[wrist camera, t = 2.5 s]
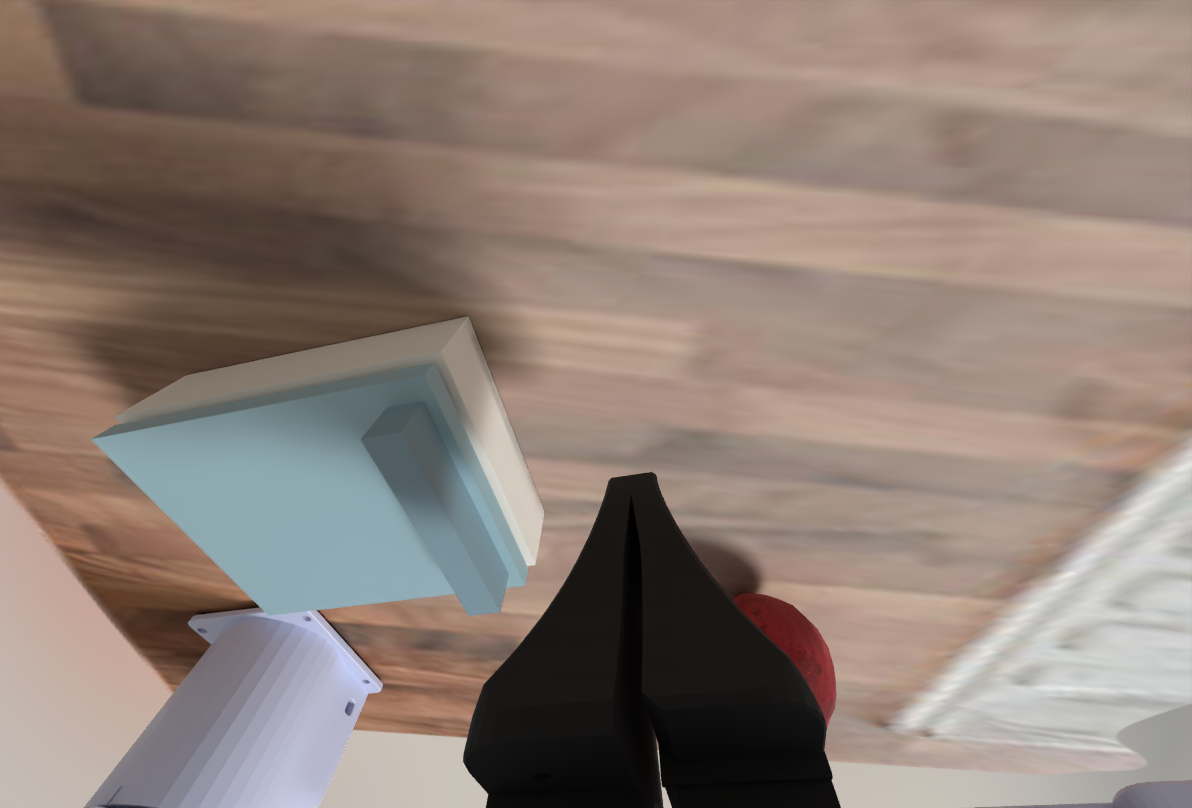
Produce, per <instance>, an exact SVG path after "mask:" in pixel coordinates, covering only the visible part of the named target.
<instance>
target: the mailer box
mask: <svg viewBox="0 0 1192 808" xmlns="http://www.w3.org/2000/svg"><path fill="white" fill-rule="evenodd" d="M430 363H435V365H436V367H437V369H438V372H439V374H440V376H441V378H442V380H443V383H444V385H445V387H446V389H447V391H448V394H449V396H450V398H451V400H452V402H453V405H454V407H455V409H456V411H457V413H458V416H459V418H460V420H461V422H462V424H463V427H464V429H465V431H466V433H467V435H468V438H469V440H470V442H471V444H472V446H473V448H474V451H475V453H476V455H477V457H478V459H479V462H480V464H481V466H482V468H483V470H484V473H485V475H486V477H487V479H488V481H489V484H490V486H491V488H492V490H493V492H494V495H495V497H496V499H497V501H498V503H499V506H500V508H501V510H502V512H503V514H504V516H505V519H506V521H507V523H508V525H509V527H510V530H511V532H512V534H513V536H514V538H515V541H516V543H517V545H518V547H519V549H520V552H521V554H522V556H523V558H524V560H525V563H526V565H527V566H532V565H535V564H536V558H537V553H538V547H539V541H540V536H541V530H542V524H543V518H544V513H545V512H544V510H543V507H542V505H541V502H540V499H539V497H538V494H537V492H536V489H535V486H534V484H533V481H532V479H531V476H530V474H529V471H528V468H527V466H526V463H525V461H524V458H523V456H522V453H521V450H520V448H519V445H518V443H517V440H516V437H515V435H514V432H513V430H512V427H511V425H510V422H509V419H508V417H507V414H506V412H505V409H504V406H503V404H502V401H501V399H500V396H499V394H498V391H497V388H496V386H495V383H494V381H493V378H492V375H491V373H490V370H489V368H488V365H487V363H486V360H485V357H484V355H483V352H482V350H481V347H480V345H479V342H478V339H477V337H476V334H475V332H474V329H473V326H472V324H471V321H470V319H469V316H467V317H462V318H457V319H452V320H447V321H443V322H438V323H433V324H428V325H424V326H419V327H414V328H409V329H404V330H400V331H395V332H390V333H385V334H381V335H376V336H371V337H366V338H361V339H357V340H352V341H347V342H342V343H338V344H333V345H328V346H323V347H318V348H314V349H309V350H304V351H299V352H295V353H290V354H285V355H280V356H275V357H271V358H266V359H261V360H256V361H252V362H247V363H242V364H237V365H233V366H228V367H223V368H218V369H213V370H209V371H204V372H199V373H194V374H190V375H186V376H184V377H182V378H181V379H179V380H177V381H175V382H174V383H172V384H170V385H168V386H167V387H165V388H163V389H161V390H160V391H158V392H156V393H154V394H153V395H151V396H149V397H147V398H146V399H144V400H142V401H140V402H138V403H137V404H135V405H133V406H131V407H130V408H128V409H126V410H124V411H123V412H121V413H119V414H117V415H116V416H114V417H115V418H116V419H117V420H118V421H119V422H120V423H121V424H124V423H129V422H134V421H139V420H144V419H149V418H154V417H159V416H165V415H170V414H175V413H180V412H185V411H190V410H195V409H200V408H205V407H210V406H215V405H221V404H226V403H231V402H236V401H241V400H246V399H251V398H256V397H261V396H266V395H272V394H277V393H282V392H287V391H292V390H297V389H302V388H307V387H312V386H317V385H323V384H328V383H333V382H338V381H343V380H348V379H353V378H358V377H363V376H368V375H374V374H379V373H384V372H389V371H394V370H399V369H404V368H409V367H414V366H419V365H425V364H430Z"/></svg>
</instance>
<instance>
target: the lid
mask: <svg viewBox="0 0 1192 808" xmlns="http://www.w3.org/2000/svg"><path fill="white" fill-rule="evenodd" d="M91 440H92V441H93V442H94V443H95V444H96V445H97V446H98V447H99V448H100V449H101V450H102V451H103V452H104V453H105V454H106V455H107V456H108V457H109V458H110V459H111V460H112V461H113V462H114V463H115V464H116V465H117V466H118V467H119V468H120V469H121V470H122V471H123V472H124V473H125V474H126V475H127V476H128V477H129V478H130V479H131V480H132V481H133V482H134V483H135V484H136V485H137V486H138V487H139V488H140V489H142V490H143V491H144V492H145V493H146V494H147V495H148V496H149V497H150V498H151V499H152V500H153V501H154V502H155V503H156V504H157V505H158V506H159V507H160V508H161V509H162V510H163V511H164V512H165V513H166V514H167V515H168V516H169V517H170V518H171V519H172V520H173V521H174V522H175V523H176V524H177V525H178V526H179V527H180V528H181V529H182V530H183V531H184V532H185V533H186V534H187V535H188V536H189V537H190V538H191V539H192V540H193V541H194V542H195V543H196V544H197V545H198V546H199V547H200V548H201V549H202V550H203V551H204V552H205V553H206V554H207V555H208V556H209V557H210V558H211V559H212V560H213V561H214V562H215V563H216V564H217V565H218V566H219V567H220V568H221V569H222V570H223V571H224V572H225V573H226V574H227V575H228V576H229V577H230V578H231V579H232V580H233V581H234V582H235V583H236V584H237V585H238V586H239V587H240V588H241V589H242V590H243V591H244V592H245V593H246V594H247V595H248V596H249V597H250V598H251V599H252V600H253V601H254V602H255V603H256V604H257V605H258V606H259V607H260V608H261V609H262V610H263V611H264V612H265V613H266V614H267V615H268V616H271V615H280V614H288V613H297V612H305V611H314V610H322V609H331V608H339V607H348V606H356V605H365V604H373V603H382V602H390V601H399V600H407V599H416V598H424V597H433V596H441V595H450V594H456V596H457V598H458V599H459V601H460V602H461V604H462V606H463V607H464V609H465V611H466V612H467V614H468V615H469V616H471V615H480V614H489V613H498V612H500V611H501V607H502V602H503V598H504V594H505V589H506V588H509V587H518V586H525V583H526V578H527V573H528V567H527V565H526V563H525V560H524V558H523V556H522V554H521V552H520V549H519V547H518V545H517V543H516V541H515V538H514V536H513V534H512V532H511V530H510V527H509V525H508V523H507V521H506V519H505V516H504V514H503V512H502V510H501V508H500V506H499V503H498V501H497V499H496V497H495V495H494V492H493V490H492V488H491V486H490V484H489V481H488V479H487V477H486V475H485V473H484V470H483V468H482V466H481V464H480V462H479V459H478V457H477V455H476V453H475V451H474V448H473V446H472V444H471V442H470V440H469V438H468V435H467V433H466V431H465V429H464V427H463V424H462V422H461V420H460V418H459V416H458V413H457V411H456V409H455V407H454V405H453V402H452V400H451V398H450V396H449V394H448V391H447V389H446V387H445V385H444V383H443V380H442V378H441V376H440V374H439V372H438V369H437V367H436V365H435V363H430V364H425V365H419V366H414V367H409V368H404V369H399V370H394V371H389V372H384V373H379V374H374V375H368V376H363V377H358V378H353V379H348V380H343V381H338V382H333V383H328V384H323V385H317V386H312V387H307V388H302V389H297V390H292V391H287V392H282V393H277V394H272V395H266V396H261V397H256V398H251V399H246V400H241V401H236V402H231V403H226V404H221V405H215V406H210V407H205V408H200V409H195V410H190V411H185V412H180V413H175V414H170V415H165V416H159V417H154V418H149V419H144V420H139V421H134V422H129V423H124V424H119V425H114V426H113V427H111V428H109V429H108V430H106V431H104V432H103V433H101V434H99V435H97V436H96V437H94V438H92V439H91Z"/></svg>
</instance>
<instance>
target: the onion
mask: <svg viewBox="0 0 1192 808" xmlns="http://www.w3.org/2000/svg"><path fill="white" fill-rule="evenodd" d="M732 600H733V601H734V602H735V603H736V604H737V605H738V607H739V608H740V609H741V610H742V611H743V612H744V613H745V614H746V615H747V616H748V617H749V618H750V619H751V620H752V621H753V622H754V623H755V624H756V625H757V626H758V627H759V628H760V630H761V631H763V632H764V633H765V634H766V635H767V636H768V637H769V638H770V639H771V640H772V641H773V642H774V643H775V644H776V645H777V646H778V647H780V648H781V649H782V650H783V651H784V652H785V653H786V654H787V655H788V656H789V657H790V658H791V659H792V661H793V662H794V664H795V665H796V667H797V668H798V670H799V671H800V673H801V674H802V676H803V677H804V679H805V681H806V682H807V684H808V685H809V687H810V689H811V690H812V692H813V694H814V696H815V698H816V700H817V702H818V704H819V706H820V708H821V710H822V712H823V714H824V717H825V721H826V726H828V723H829V720H830V718H831V715H832V713H833V711H834V709H835V702H836V681H835V672H834V666H833V663H832V659H831V656H830V652H829V649H828V646H827V645H826V643H825V641H824V640H823V638H822V636H821V634H820V633H819V631H818V629H817V628H816V627H815V626H814V625H813V624H812V623H811V622H810V621H809V620H808V619H807V618H806V617H805V616H804V615H803V614H801V613H800V612H799V611H798V610H797V609H796V608H795V607H794V606H793V605H791V604H789V603H786V602H784V601H782V600H779V599H776V598H773V597H770V596H767V595H762V594H753V593H748V592H746V593H740V594H737V595H736V596H735V597H734V598H733V599H732Z"/></svg>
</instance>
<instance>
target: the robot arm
mask: <svg viewBox="0 0 1192 808" xmlns="http://www.w3.org/2000/svg"><path fill="white" fill-rule="evenodd" d="M188 625H189V626H190V627H191V628H192V629H193V630H194V631H196V632H197V633H198V634H199V635H200V636H202V637H203V638H204V639H205V640H206V641H208V642H209V643H210V644H211V646H210V647H209V648H208V650H207V651H206V652H205V653H204V655H203V656H202V657H201V658H200V660H199V661H198V662H197V664H196V665H195V666H194V667H193V669H192V670H191V671H190V673H189V674H188V675H187V676H186V678H185V679H184V680H183V682H182V683H181V684H180V685H179V687H178V688H177V689H176V690H175V692H174V693H173V694H172V696H171V697H170V698H169V699H168V701H167V702H166V703H165V705H164V706H163V707H162V709H161V710H160V711H159V712H158V714H157V715H156V716H155V718H154V719H153V720H152V721H151V723H150V724H149V725H148V726H147V728H146V729H145V730H144V732H143V733H142V734H141V735H140V737H139V738H138V739H137V740H136V742H135V743H134V744H133V746H132V747H131V748H130V749H129V751H128V752H127V753H126V754H125V756H124V757H123V758H122V760H121V761H120V762H119V764H118V765H117V766H116V767H115V769H114V770H113V771H112V773H111V774H110V775H109V776H108V778H107V779H106V780H105V781H104V783H103V784H102V785H101V786H100V788H99V789H98V790H97V792H96V793H95V794H94V795H93V797H92V798H91V800H90V801H89V802H88V803H87V804H86V806H85V807H84V808H318V806H319V805H320V803H321V801H322V798H323V797H324V794H325V793H326V790H327V788H328V785H329V783H330V781H331V778H332V776H333V774H334V772H335V769H336V767H337V765H338V763H339V760H340V758H341V756H342V753H343V751H344V748H345V746H346V744H347V741H348V739H349V737H350V735H351V732H352V730H353V728H354V726H355V723H356V721H357V719H358V716H359V714H360V712H361V709H362V707H363V705H364V702H365V700H366V698H367V695H368V693H378V692H380V691H381V689H382V686H383V684H382V682H381V681H380V680H379V679H378V678H377V677H376V675H375V674H374V673H373V672H372V671H371V670H370V669H369V668H368V667H367V665H366V664H365V663H364V662H363V661H362V660H361V659H360V658H359V657H358V656H357V654H356V653H355V652H354V651H353V650H352V649H351V648H350V647H349V646H348V644H347V643H346V642H345V641H344V640H343V639H342V638H341V637H340V636H339V634H338V633H337V632H336V631H335V630H334V629H333V628H332V627H331V626H330V625H329V623H328V622H327V621H326V620H325V619H324V618H323V617H322V616H321V615H320V613H319V612H318V611H317V610H314V611H305V612H297V613H288V614H280V615H271V616H268V615H267V614H266V613H265V612H264V611H263V610H262V609H261V608H260V607H259V608H251V609H243V610H234V611H226V612H218V613H210V614H201V615H195V616H193V617H192V618H191V619H190V620H189V621H188ZM826 730H827V726H826V721H825V717H824V714H823V712H822V710H821V708H820V706H819V704H818V702H817V700H816V698H815V696H814V694H813V692H812V690H811V689H810V687H809V685H808V684H807V682H806V681H805V679H804V677H803V676H802V674H801V673H800V671H799V670H798V668H797V667H796V665H795V664H794V662H793V661H792V659H791V658H790V657H789V656H788V655H787V654H786V653H785V652H784V651H783V650H782V649H781V648H780V647H778V646H777V645H776V644H775V643H774V642H773V641H772V640H771V639H770V638H769V637H768V636H767V635H766V634H765V633H764V632H763V631H761V630H760V628H759V627H758V626H757V625H756V624H755V623H754V622H753V621H752V620H751V619H750V618H749V617H748V616H747V615H746V614H745V613H744V612H743V611H742V610H741V609H740V608H739V607H738V605H737V604H736V603H735V602H734V601H733V600H732V599H731V598H730V597H729V595H728V594H727V593H726V592H725V591H724V590H723V589H722V588H721V586H720V585H719V584H718V583H717V581H716V580H715V579H714V578H713V577H712V575H711V574H710V573H709V571H708V570H707V569H706V567H705V566H704V565H703V564H702V562H701V561H700V559H699V558H698V557H697V555H696V554H695V552H694V551H693V549H692V548H691V546H690V545H689V543H688V542H687V540H686V539H685V537H684V536H683V534H682V532H681V531H680V529H679V527H678V526H677V524H676V522H675V520H674V518H673V517H672V515H671V513H670V511H669V509H668V507H667V505H666V503H665V501H664V498H663V496H662V494H661V491H660V488H659V485H658V482H657V477H656V474H654V473H653V472H649V473H642V474H635V475H628V476H622V477H615V478H611V479H610V480H609V481H608V486H607V489H606V493H605V496H604V499H603V502H602V505H601V508H600V511H599V513H598V516H597V518H596V521H595V523H594V525H593V528H592V530H591V533H590V535H589V537H588V539H587V541H586V543H585V545H584V548H583V550H582V552H581V554H580V556H579V558H578V560H577V562H576V563H575V565H574V567H573V569H572V571H571V572H570V574H569V576H568V578H567V579H566V581H565V583H564V584H563V586H562V588H561V589H560V591H559V592H558V594H557V595H556V597H555V598H554V600H553V601H552V603H551V604H550V606H549V607H548V609H547V610H546V611H545V613H544V614H543V616H542V617H541V618H540V620H539V621H538V622H537V624H536V625H535V626H534V627H533V629H532V630H531V631H530V632H529V634H528V635H527V636H526V637H525V639H524V640H523V641H522V643H521V644H520V645H519V646H518V647H517V649H516V650H515V651H514V652H513V653H512V654H511V655H510V657H509V658H508V659H507V660H506V661H505V662H504V663H503V664H502V665H501V666H500V667H499V669H498V670H497V671H496V672H495V673H494V674H493V675H492V676H491V677H490V678H489V679H488V680H487V682H486V683H485V684H484V685H483V688H482V691H481V694H480V696H479V699H478V702H477V705H476V708H475V711H474V714H473V717H472V721H471V725H470V729H469V733H468V738H467V742H466V746H465V750H464V757H463V762H464V764H465V766H466V768H467V769H468V771H469V773H470V774H471V775H472V776H473V777H474V778H475V780H476V781H477V782H478V783H479V784H480V785H481V786H482V787H483V788H484V790H485V791H486V792H487V793H488V799H487V805H486V808H663V799H662V791H661V781H662V786H663V787H665V788H666V791H667V794H668V797H669V800H670V803H671V806H672V808H841V807H840V804H839V801H838V798H837V795H836V792H835V789H834V786H833V783H832V778H833V777H832V772H831V769H830V766H829V763H828V760H827V757H826V754H825V751H824V747H825V739H826ZM656 738H657V741H658V744H659V756H660V768H661V781H660V772H659V763H658V754H657V744H656ZM977 808H1192V780H1187V781H1164V782H1163V781H1162V782H1145V783H1138V784H1134V785H1130V786H1127V787H1125V788H1123V789H1121V790H1120V791H1118V792H1117V793H1116V795H1115V796H1114V798H1113V801H1112V803H1089V804H1064V805H1063V804H1062V805H1034V806H1006V807H977Z"/></svg>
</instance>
